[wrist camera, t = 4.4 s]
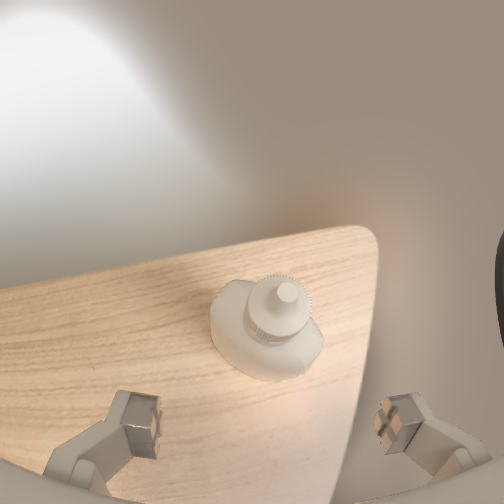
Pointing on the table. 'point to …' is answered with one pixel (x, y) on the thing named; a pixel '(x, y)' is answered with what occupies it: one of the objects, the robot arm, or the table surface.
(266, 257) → the table surface
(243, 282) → the eye dropper bottle
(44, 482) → the robot arm
